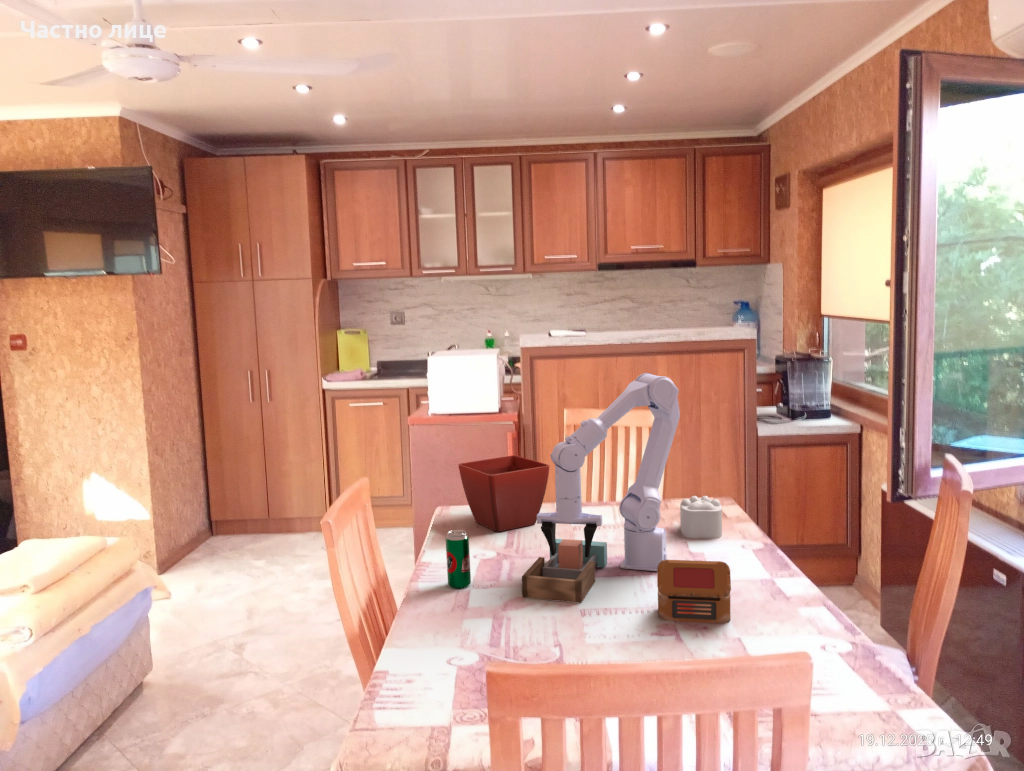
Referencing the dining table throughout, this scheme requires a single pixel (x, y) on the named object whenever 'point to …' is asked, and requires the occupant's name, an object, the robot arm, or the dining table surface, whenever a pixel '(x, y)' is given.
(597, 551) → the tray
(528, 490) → the plant pot
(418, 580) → the dining table surface
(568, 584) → the caddy
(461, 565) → the soda can
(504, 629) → the dining table surface
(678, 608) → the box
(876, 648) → the dining table surface
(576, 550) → the brick-red block
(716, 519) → the lumpy-topped squat cylinder
